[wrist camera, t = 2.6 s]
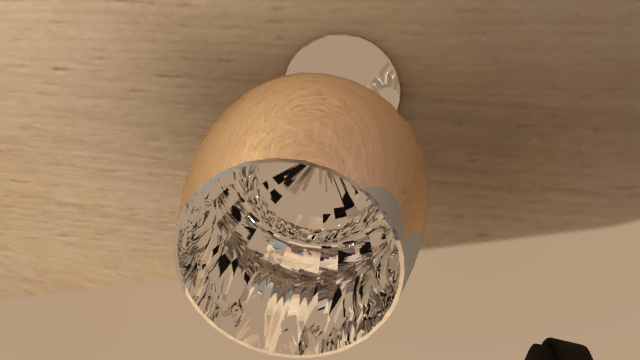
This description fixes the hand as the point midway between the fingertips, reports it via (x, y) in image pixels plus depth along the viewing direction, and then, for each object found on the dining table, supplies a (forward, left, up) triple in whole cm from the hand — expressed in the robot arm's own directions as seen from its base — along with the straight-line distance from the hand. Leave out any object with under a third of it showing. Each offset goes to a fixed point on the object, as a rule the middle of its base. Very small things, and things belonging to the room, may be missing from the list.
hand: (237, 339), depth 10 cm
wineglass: (0, 0, -15) cm, 15 cm away
